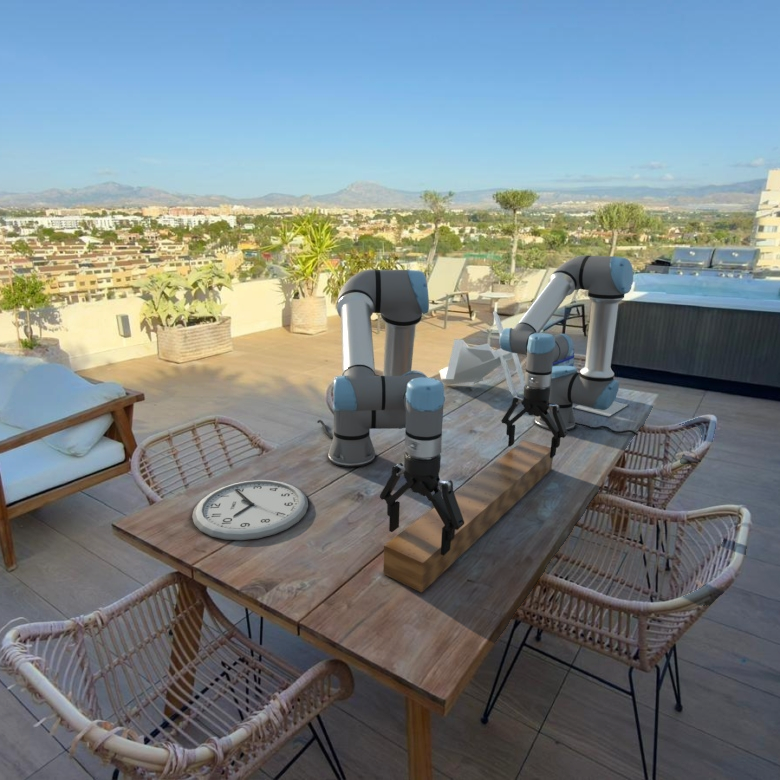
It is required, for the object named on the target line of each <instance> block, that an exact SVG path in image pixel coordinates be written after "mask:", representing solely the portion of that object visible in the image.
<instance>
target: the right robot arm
mask: <svg viewBox="0 0 780 780" xmlns="http://www.w3.org/2000/svg"><path fill="white" fill-rule="evenodd" d="M633 282H634V269H633V264H632V263H631V261H630V260H629V259H628V258H627V257H620V256H614V255H612V256H610V255H609V256H608V255H587V254H586V255H585V254H584V255H583V254H582V255H578V256H576V257H575V256H574V257H573V258H571V259H569V260H567V261H565V262H563V263H562V264H561V265H560V266H559V267H557V268H556V269H554V271H553V272H552V274H551V275H550V276H549V278H548V284H547V285H546V286H545V288H544V289H542V292H541V293H540V294H539V295H538V296H537V298H536V299H535V301H534V302H533V303H532V305H530V307H529V309H528V310H527V311H526V312H525V314H523V316H522V317H521V319H520V320H519V322H518V323H517V324H516V325H515V326H514V328H512V327H506V328H503V331H502V332H501V335H499V340H498V343H499V347H500V348H501V349H502V350H505V351H508V352H511V353H517V355H524V356H526V362H525V363H526V364H525V375H524V378H525V384H526V385H525V386H524V391H523V394H522V395H523V398H521V397H520V395H517V396H516V397H513V398H512V401H511V405H510V406H509V408H508V409H507V411H506V412H505V414H504V415H503V417H502V419H501V420H500V421H501V423H502V424H504V425H506V431H505V432H506V436H508V441H507V444H508V445H507V446H508V447H510V448H511V447H512V446H513V445H514V444H515V434H516V424H514V423H515V422H517V421H518V420H519V419H520V418H521V417H522V416H524V415H525V414H526V413H527V414H528V415H529V416H534V424H535V425H536V426H537V427H539V428H542V429H544V430H549V431H550V432H551V433H552V435H553V436H552V437H551V442H550V444H551V445H550V448H551V451H550V458H554V457H555V456H556V454H557V448H559V447H560V445H561V439H564V438H565V437H567V435H568V433H569V432H568V431H572V430H574V429H575V428H576V426H581V427H584V428H588V429H592V430H598V429H607V430H609V432H611V433H614V434H625V433H631V434H634V435H635V436H639V433H637V432H636V431H634V430H632V429H626V430H615V429H613V428H611V427H609V426H607V425H599V426H592V425H588V424H585V423H580V422H576V418H575V417H576V416H575V413H574V407H573V405H574V404H575V405H577V406H578V405H583V406H587V407H591V408H593V409H600V410H606V409H608V408H609V407H610V406H611V405H612V403H613V402H615V400H616V398H617V395H618V392H619V389H620V382H619V380H618V379H615V372H614V371H613V370H612V369H611V366H612V358H613V349H614V342H615V334H616V326H617V320H618V319H617V318H618V309H619V303H620V302H621V301H622V300H624V299H625V295H627V294H629V293H630V291H631V290H632V286H633ZM577 290H583V291H587V298H588V299H589V300H590V301H591V307H590V316H589V325H588V334H587V335H588V336H587V343H586V355H585V362H584V366H583V367H582V368H581V369H580V370H579V372H578V368H577V366H574V365H573V366H554V367H552V366H553V362H555V361H558V360H560V359H564V358H565V357H566V356H568V355H569V354H570V353H571V352H572V350H573V349H574V341H573V339H572V338H571V337H570V336H569V335H568V334H566V333H555V334H551V333H547V332H546V333H545V332H542V330H543V329H544V328H545V326H546V325H547V324H548V322H549V321H550V320H551V318H552V317H553V315H554V314H555V313H556V312H557V310H558V309H559V308H560V306H561V305H562V303H563V302H564V300H565V299H566V298H567V297H569V296H571V295H572V294H573V293H574V292H575V291H577ZM520 404H521V405H522V407H523V408H522V410H520V411H519V412H518V413H517V414H516V415H514V416H513V417H512V415H513V413H514V412H515V410H516V409H517V407H518V405H520ZM511 417H512V418H511ZM510 418H511V419H510Z"/></svg>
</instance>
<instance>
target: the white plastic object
mask: <svg viewBox="0 0 780 780" xmlns="http://www.w3.org/2000/svg"><path fill="white" fill-rule="evenodd" d="M492 315H493V319H494V321H495V324H496V325H495V326H496V328H497V332H498V335H499V336H500V335H501V332H502V331H503V330H504V328H503V325H502V321H501V318H500V315H499V314H498V312H497V311H496V310H495V311H492ZM510 360H513V363H514V366H515V369H516V372H517V376H518V380H519V382H520V385H521V389H522V391H523V392H524V386H525V385H526V384H525V375H524V371H523V369H522V368H523V367H522V366H521V362H520V359H519V354H518V353H511V352H508V351H505V350H502V349H501V347H500V348H498V349H496V350H495V349H493V348H492V347H491V346H490V344H489V343H488V342H487V343H483V344H479V345H473V346H469V345H468V343H466V342H465V340H464V339H463V338H460V339H458V338H454V340H453V344H452V349H451V353H450V357H449V362H448V366H446V367H444V368H442V369H440V370H439V371H438V372H439V376H440V381H441V382H442V383H443V385H444V386H449V385H458V384H467V383H468V384H469V383H473V384H477V383H480V382H482V381H484V378H485V377H486V376H487V375H489V374H490V373H492V372H494V371H495V370H496V369H497V368H499V367H500V366H502V370H503V373H504V376H505V380H506V383H507V386H508V390H509V393H510V394H511V395H512V397H513V398H515V397H516V396H518V395H517V392H516V391H517V390H516V388H515V385H514V381H513V378H512V375H511V371H510V369H509V365H508V361H510Z"/></svg>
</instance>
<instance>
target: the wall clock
mask: <svg viewBox="0 0 780 780" xmlns="http://www.w3.org/2000/svg"><path fill="white" fill-rule="evenodd" d="M308 509H309V502H308V498H307V496H306V494H305V493H304V492H303V491H302V490H300V489H299V488H297V487H296V486H294V485H292V484H289V483H286V482H284V481H283V482H282V481H276V480H268V479H267V480H266V479H257V480H245V481H240V482H236V483H231V484H229V485H226V486H223V487H220V488H218V489H216V490H214V491H212V492H210V493H209V494H207V495H205V497H203V498H202V499H201V500H200V501H198V503H197V504H196V506H195V507H194V508H193V512H192V516H191V517H192V521H193V524H194V526H195V527H196V528H197V530H199V531H200V532H201V533H203V534H206V535H207V536H210V537H212V538H216V539H222V540H226V541H227V540H229V541H245V540H246V541H247V540H256V539H261V538H265V537H266V538H267V537H271V536H274V535H276V534H278V533H281V532H283V531H286V530H288V529H289V528H291V527H293V526H295V525H296V524H297V523H299V522H300V521H301V520H302V518H304V516H305V515H306V513H307V511H308Z"/></svg>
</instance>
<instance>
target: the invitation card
mask: <svg viewBox="0 0 780 780" xmlns="http://www.w3.org/2000/svg"><path fill="white" fill-rule="evenodd" d="M628 406H629V404H627V403H623V402H618V401H614V402H613V403H612V405H611V406H610V407H609V408H608V409H606V410H600V409H593V408H591V407H587V406H583V405H578V404H577V405H575V406H574V407H573V409H575V410H581V411H584V412H587V413H593V414H596V415H600V416H604V417H608V418H609V417H611V416H613V415H614V414H616V413H617V412H619V411H621V410H623V409H624V408H626V407H628Z"/></svg>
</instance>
